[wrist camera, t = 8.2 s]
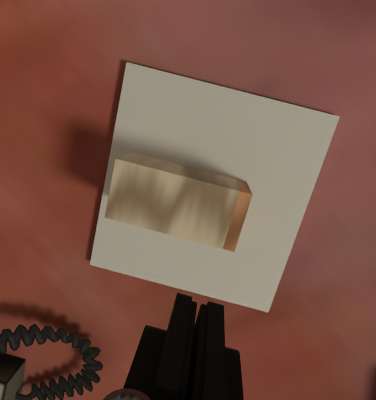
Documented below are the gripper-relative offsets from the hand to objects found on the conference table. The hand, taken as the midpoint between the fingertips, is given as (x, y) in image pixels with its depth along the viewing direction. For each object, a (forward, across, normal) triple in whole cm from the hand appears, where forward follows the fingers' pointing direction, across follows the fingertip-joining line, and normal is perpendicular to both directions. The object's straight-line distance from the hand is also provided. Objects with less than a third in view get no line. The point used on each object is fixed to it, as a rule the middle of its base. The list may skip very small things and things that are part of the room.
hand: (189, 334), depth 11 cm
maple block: (+17, -3, 0) cm, 18 cm away
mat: (+20, 0, 0) cm, 20 cm away
